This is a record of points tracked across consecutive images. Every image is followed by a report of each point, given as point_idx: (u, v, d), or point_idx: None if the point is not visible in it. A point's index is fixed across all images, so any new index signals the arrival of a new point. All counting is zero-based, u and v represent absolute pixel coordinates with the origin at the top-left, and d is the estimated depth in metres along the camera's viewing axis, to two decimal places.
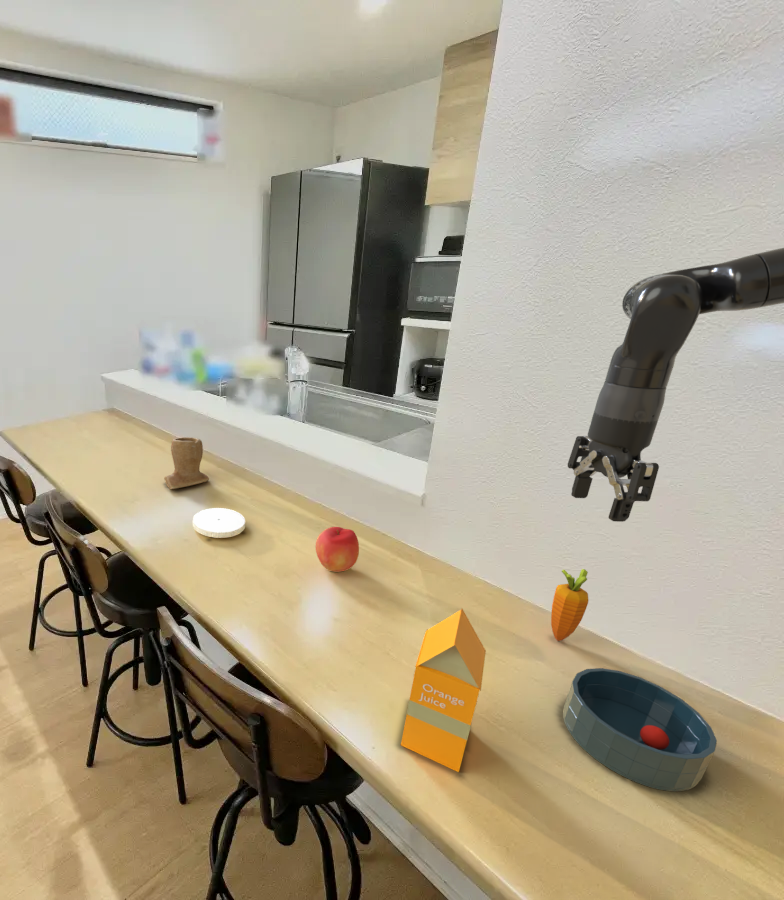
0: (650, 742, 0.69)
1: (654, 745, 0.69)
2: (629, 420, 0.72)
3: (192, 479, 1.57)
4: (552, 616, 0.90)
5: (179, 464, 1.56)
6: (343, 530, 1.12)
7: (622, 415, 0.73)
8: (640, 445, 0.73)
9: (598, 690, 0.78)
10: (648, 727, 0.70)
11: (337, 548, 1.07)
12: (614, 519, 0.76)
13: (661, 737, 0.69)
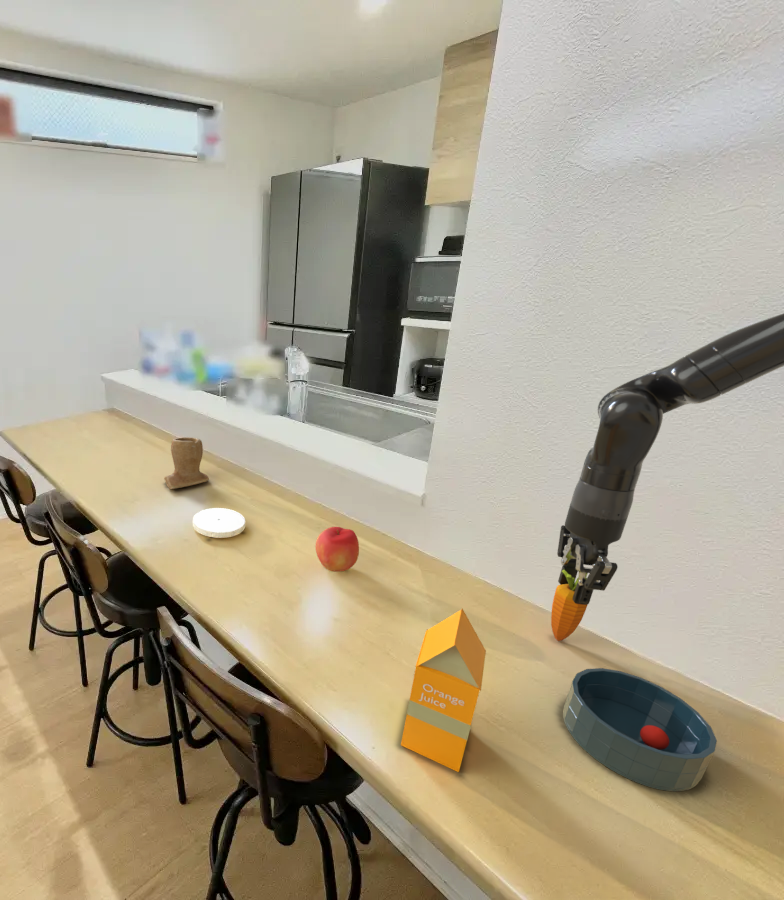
0: (650, 742, 0.69)
1: (654, 745, 0.69)
2: (595, 516, 0.80)
3: (192, 479, 1.57)
4: (552, 616, 0.90)
5: (179, 464, 1.56)
6: (343, 530, 1.12)
7: (589, 511, 0.80)
8: (607, 539, 0.80)
9: (598, 690, 0.78)
10: (648, 727, 0.70)
11: (337, 548, 1.07)
12: (577, 602, 0.85)
13: (661, 737, 0.69)
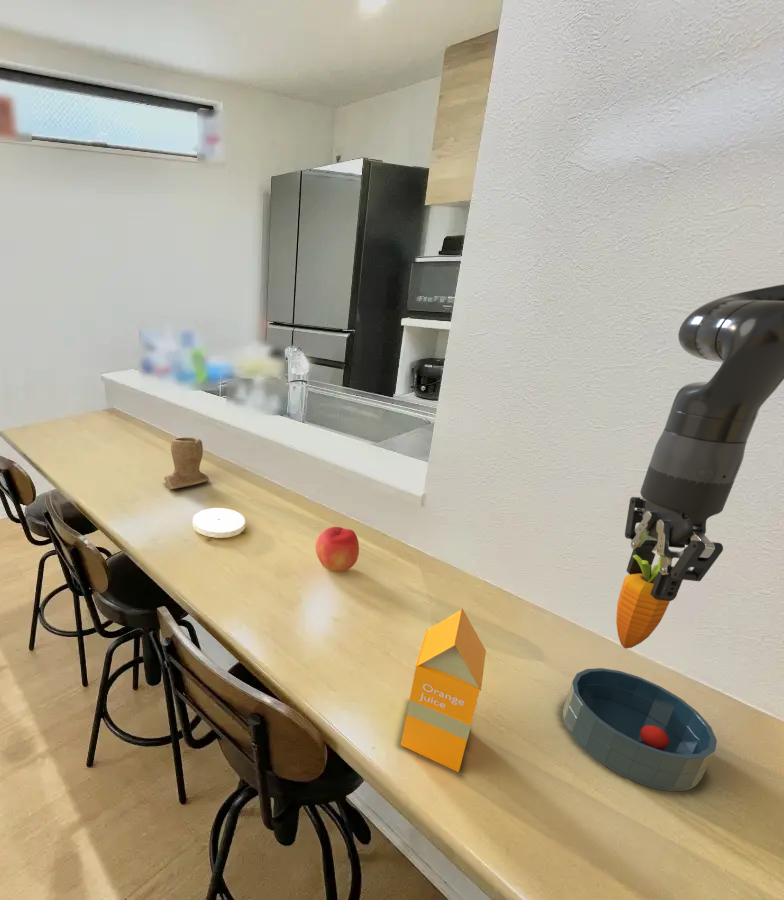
0: (650, 742, 0.69)
1: (654, 745, 0.69)
2: (690, 479, 0.58)
3: (192, 479, 1.57)
4: (619, 616, 0.68)
5: (179, 464, 1.56)
6: (343, 530, 1.12)
7: (681, 472, 0.58)
8: (705, 511, 0.58)
9: (598, 690, 0.78)
10: (648, 727, 0.70)
11: (337, 548, 1.07)
12: (657, 597, 0.63)
13: (661, 737, 0.69)
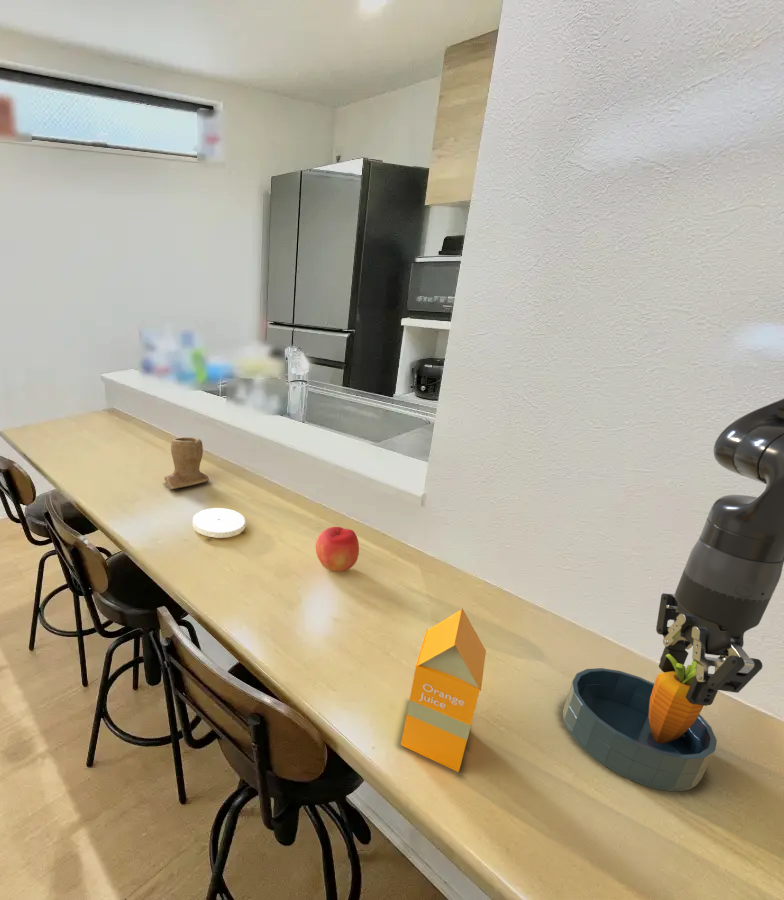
0: None
1: None
2: (728, 594, 0.58)
3: (192, 479, 1.57)
4: (652, 713, 0.68)
5: (179, 464, 1.56)
6: (343, 530, 1.12)
7: (719, 586, 0.59)
8: (743, 625, 0.59)
9: (598, 690, 0.78)
10: None
11: (337, 548, 1.07)
12: (693, 701, 0.64)
13: None
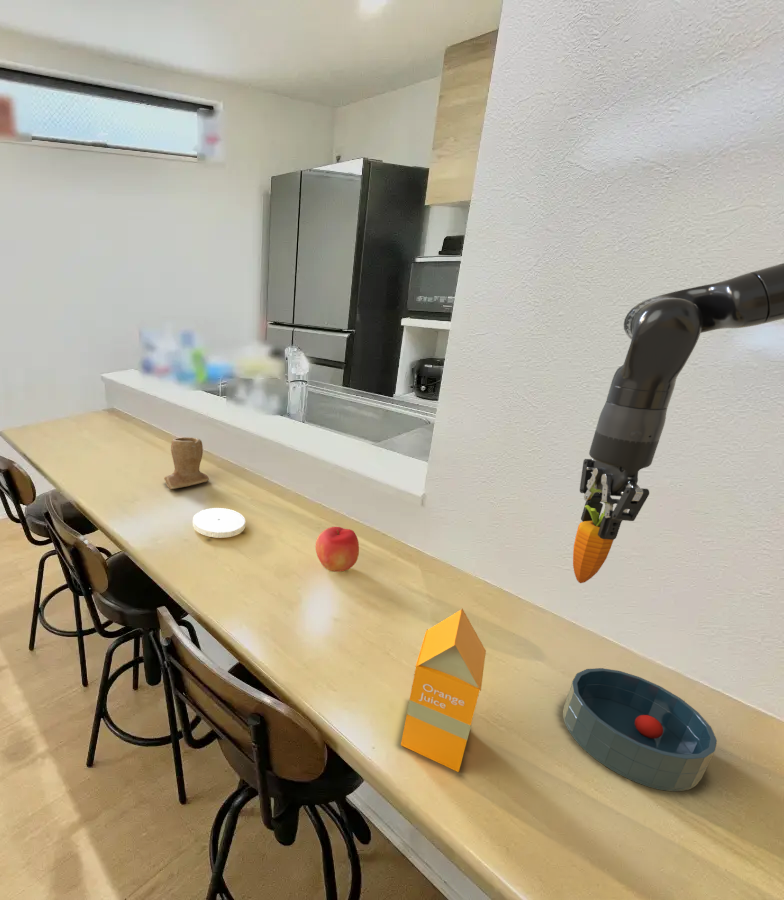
0: (640, 719, 0.72)
1: (641, 722, 0.71)
2: (624, 439, 0.73)
3: (192, 479, 1.57)
4: (574, 556, 0.84)
5: (179, 464, 1.56)
6: (343, 530, 1.12)
7: (618, 434, 0.74)
8: (637, 465, 0.74)
9: (598, 690, 0.78)
10: (649, 716, 0.72)
11: (337, 548, 1.07)
12: (603, 537, 0.79)
13: (654, 721, 0.71)
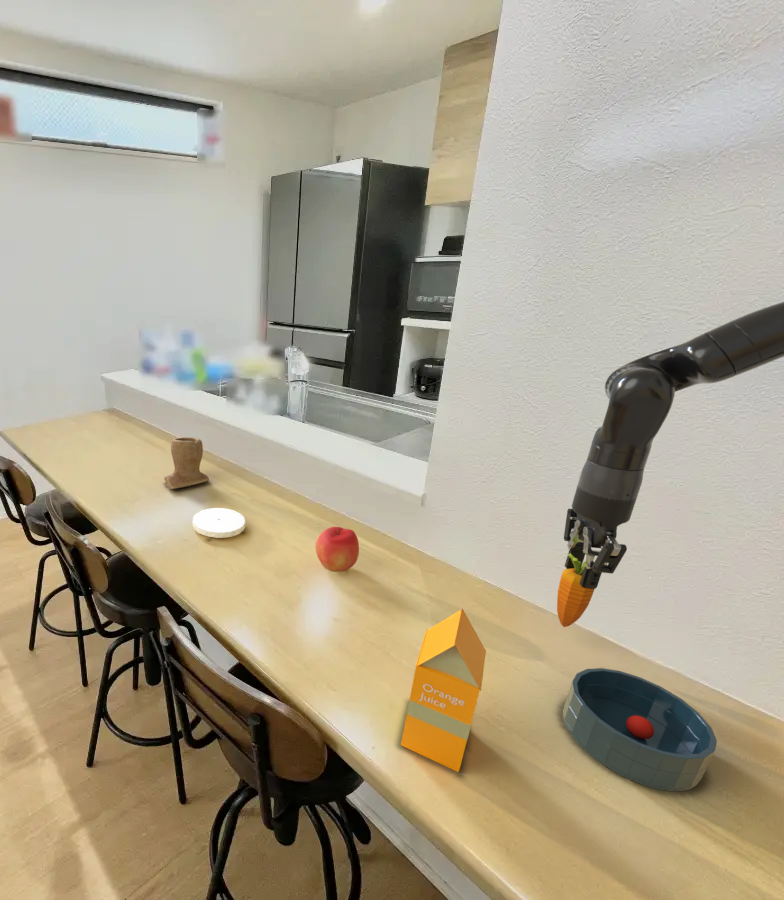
0: (627, 727, 0.72)
1: (629, 730, 0.72)
2: (604, 497, 0.77)
3: (192, 479, 1.57)
4: (558, 601, 0.88)
5: (179, 464, 1.56)
6: (343, 530, 1.12)
7: (597, 491, 0.78)
8: (615, 521, 0.78)
9: (598, 690, 0.78)
10: (634, 716, 0.72)
11: (337, 548, 1.07)
12: (584, 586, 0.83)
13: (637, 726, 0.71)
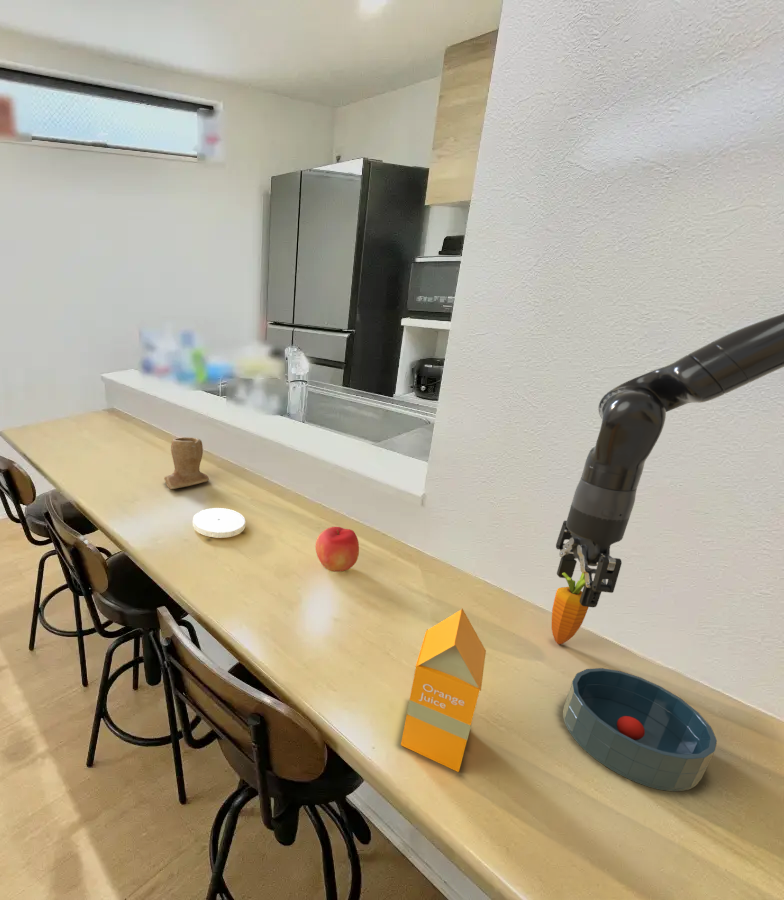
0: None
1: None
2: (597, 516, 0.79)
3: (192, 479, 1.57)
4: (552, 619, 0.89)
5: (179, 464, 1.56)
6: (343, 530, 1.12)
7: (591, 511, 0.79)
8: (608, 540, 0.79)
9: (598, 690, 0.78)
10: (618, 721, 0.72)
11: (337, 548, 1.07)
12: (584, 604, 0.82)
13: (623, 733, 0.71)
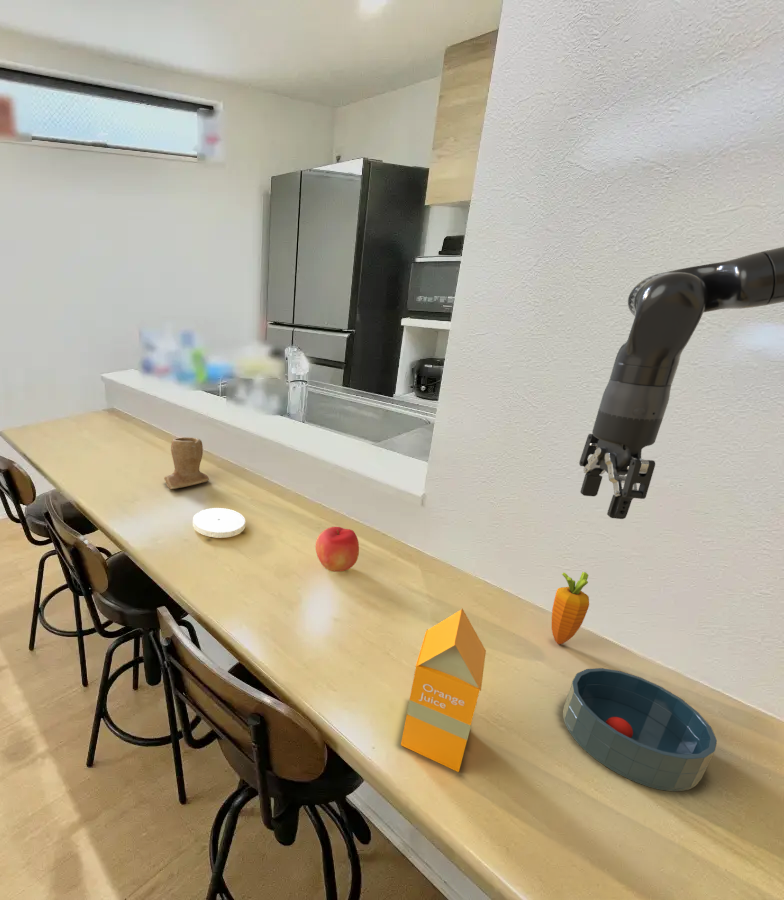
0: None
1: None
2: (628, 417, 0.73)
3: (192, 479, 1.57)
4: (552, 619, 0.89)
5: (179, 464, 1.56)
6: (343, 530, 1.12)
7: (621, 412, 0.73)
8: (640, 442, 0.73)
9: (598, 690, 0.78)
10: None
11: (337, 548, 1.07)
12: (612, 516, 0.77)
13: None
